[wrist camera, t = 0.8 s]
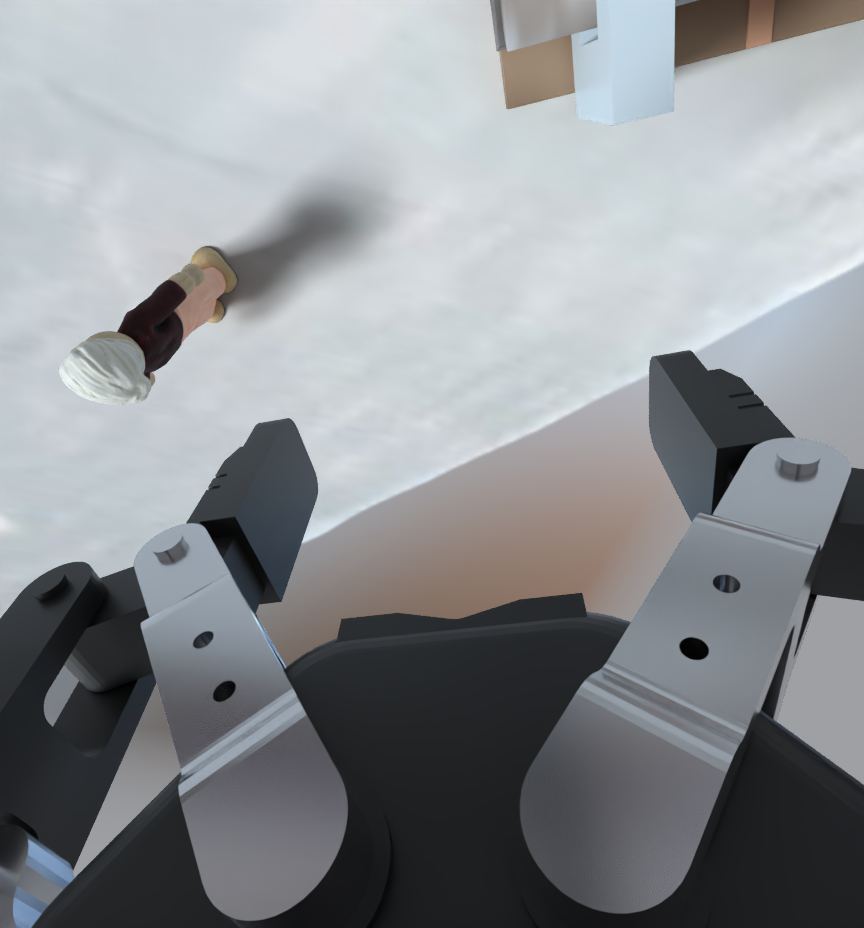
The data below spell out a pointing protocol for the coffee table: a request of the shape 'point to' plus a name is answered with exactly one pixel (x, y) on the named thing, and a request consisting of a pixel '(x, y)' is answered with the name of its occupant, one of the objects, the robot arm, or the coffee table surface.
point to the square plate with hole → (625, 62)
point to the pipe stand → (696, 35)
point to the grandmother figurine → (149, 333)
